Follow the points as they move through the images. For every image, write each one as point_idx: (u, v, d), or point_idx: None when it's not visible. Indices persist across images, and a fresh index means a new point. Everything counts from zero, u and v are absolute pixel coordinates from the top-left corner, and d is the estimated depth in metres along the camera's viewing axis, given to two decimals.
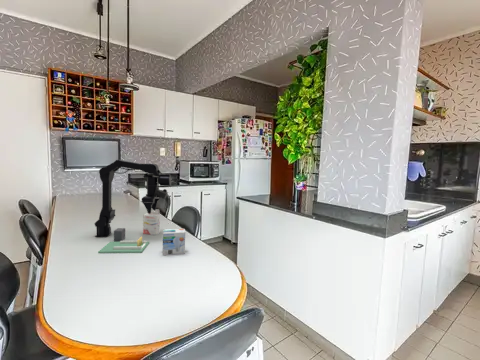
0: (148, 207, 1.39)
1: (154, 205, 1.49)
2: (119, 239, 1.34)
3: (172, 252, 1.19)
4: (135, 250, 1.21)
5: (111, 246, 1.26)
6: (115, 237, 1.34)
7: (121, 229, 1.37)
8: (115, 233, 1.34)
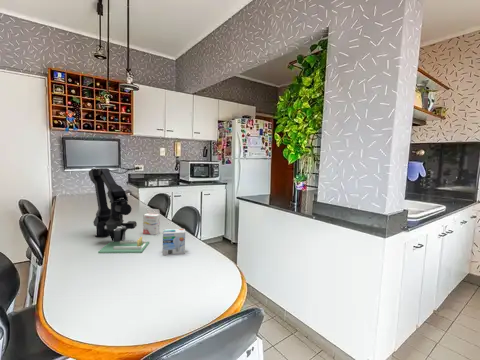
0: None
1: None
2: (119, 239, 1.34)
3: (172, 252, 1.19)
4: (135, 250, 1.21)
5: (111, 246, 1.26)
6: (115, 237, 1.34)
7: None
8: (115, 233, 1.33)
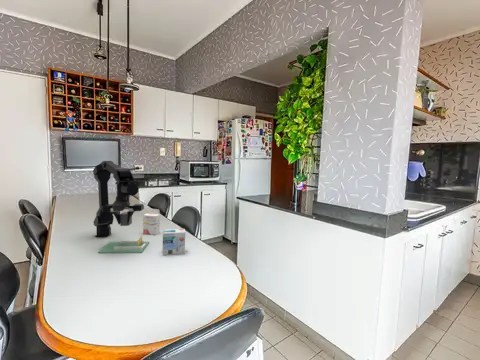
0: None
1: None
2: (126, 223, 1.27)
3: (172, 252, 1.19)
4: (135, 250, 1.21)
5: (111, 246, 1.26)
6: (121, 220, 1.27)
7: None
8: (121, 216, 1.27)
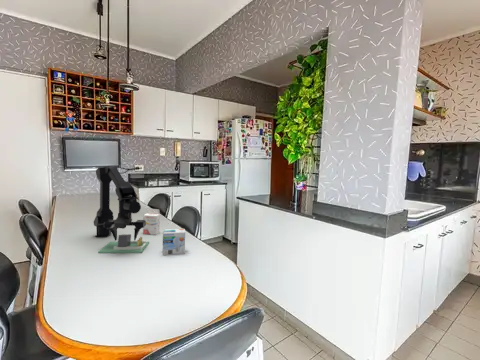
0: None
1: None
2: (127, 245, 1.26)
3: (172, 252, 1.19)
4: (135, 250, 1.21)
5: (111, 246, 1.26)
6: None
7: (124, 240, 1.22)
8: None
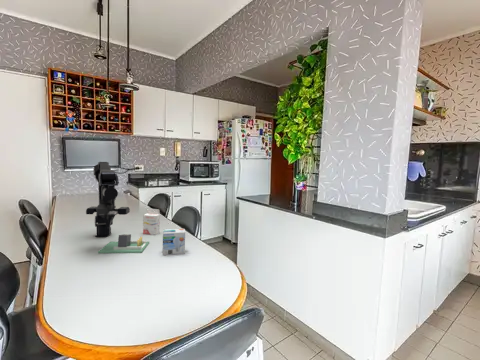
0: None
1: None
2: (127, 245, 1.26)
3: (172, 252, 1.19)
4: (135, 250, 1.21)
5: (111, 246, 1.26)
6: None
7: (124, 240, 1.22)
8: None
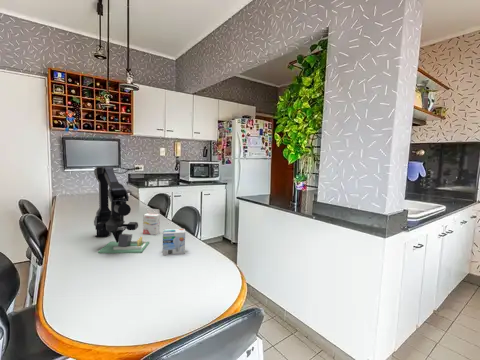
0: None
1: None
2: None
3: (172, 252, 1.19)
4: (135, 250, 1.21)
5: (111, 246, 1.26)
6: None
7: (125, 240, 1.22)
8: (120, 245, 1.22)
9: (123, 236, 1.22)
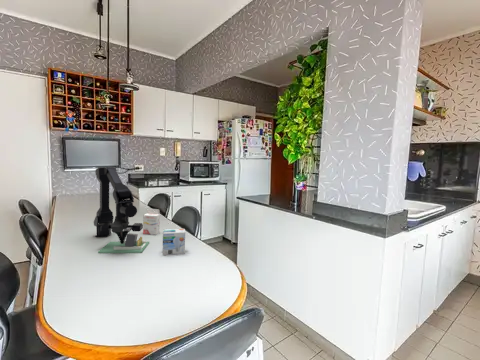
0: None
1: None
2: None
3: (172, 252, 1.19)
4: (135, 250, 1.21)
5: (111, 246, 1.26)
6: None
7: (132, 239, 1.23)
8: None
9: (130, 236, 1.23)
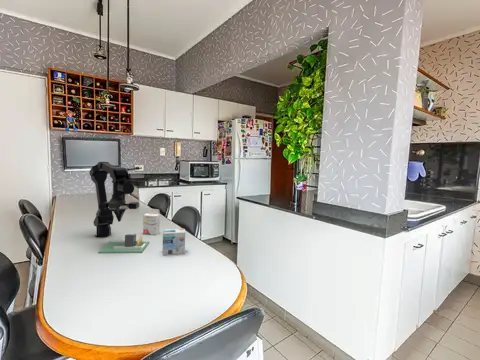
0: None
1: None
2: None
3: (172, 252, 1.19)
4: (135, 250, 1.21)
5: (111, 246, 1.26)
6: None
7: (130, 240, 1.22)
8: None
9: (128, 236, 1.22)
